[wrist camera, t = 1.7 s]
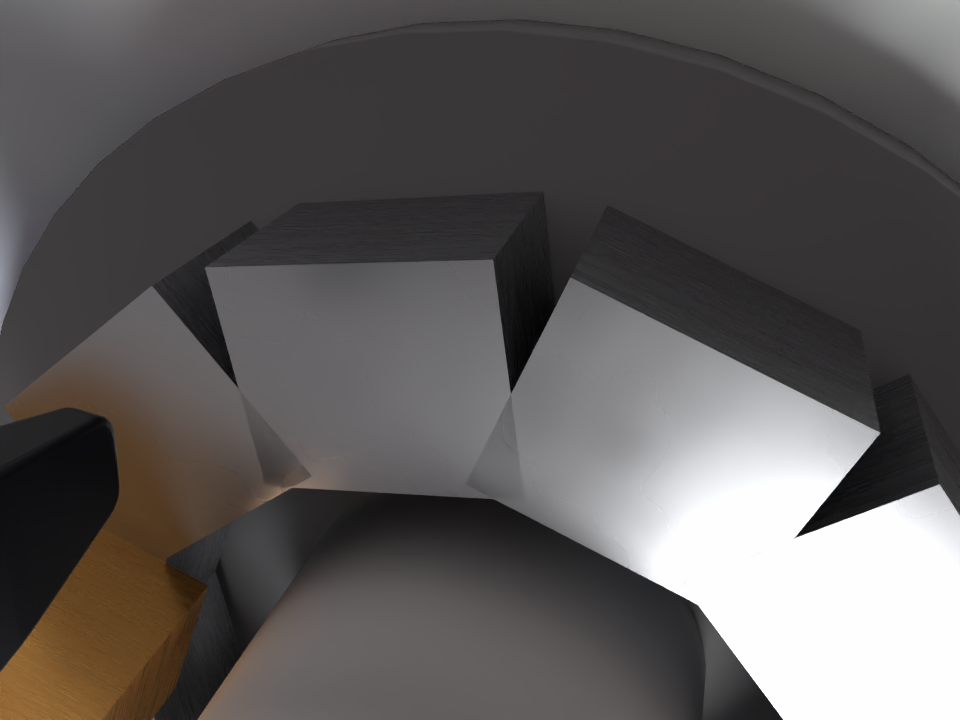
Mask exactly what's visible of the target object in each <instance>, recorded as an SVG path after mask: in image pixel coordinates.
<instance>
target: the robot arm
mask: <svg viewBox="0 0 960 720" xmlns="http://www.w3.org/2000/svg"><path fill="white" fill-rule="evenodd" d="M119 489H120V484H119V473H118V463H117V452H116V442H115V432H114V428H113V426H112V424H111V422H110V421H109V420H108V419H107V418H105V417H104V416H101V415H97V414H94V413H90V412H87V411H84V410H80V409H77V408H70V407H69V408H61V409H57V410H54V411H50V412H47V413H43V414H40V415H36V416H33V417H29V418H26V419H22V420H18V421H15V422H11V423H8V424H4V425H1V426H0V672H1V671H2V670H3V668H4V667H5V666H6V665H7V663H8V662H9V661H10V659H11V658H12V657H13V656H14V654H15V653H16V652H17V651H18V649H19V648H20V647H21V646H22V644H23V643H24V642H25V640H26V639H27V637H28V636H29V635H30V633H31V632H32V630H33V629H34V628H35V626H36V625H37V624H38V622H39V621H40V619H41V618H42V616H43V615H44V613H45V612H46V610H47V609H48V607H49V606H50V604H51V603H52V601H53V600H54V598H55V597H56V595H57V594H58V592H59V591H60V590H61V588H62V587H63V585H64V584H65V582H66V581H67V579H68V578H69V576H70V575H71V573H72V572H73V570H74V569H75V567H76V566H77V564H78V563H79V561H80V560H81V558H82V557H83V555H84V554H85V552H86V551H87V550H88V548H89V547H90V545H91V544H92V542H93V541H94V539H95V538H96V536H97V535H98V533H99V532H100V530H101V529H102V527H103V526H104V524H105V523H106V521H107V520H108V518H109V517H110V515H111V514H112V512H113V510H114V508H115V506H116V503H117V500H118V497H119Z"/></svg>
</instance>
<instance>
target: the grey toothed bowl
mask: <svg viewBox="0 0 960 720" xmlns="http://www.w3.org/2000/svg"><path fill="white" fill-rule="evenodd" d="M3 407H4V408H5V409H6V410H7V412H8V413H9V414H10V415H11V416H12V417H13V418H14V419H15V420H14V421H13V422H15V421H18V420H22V419H26V418H29V417H33V416H36V415H40V414H43V413H47V412H50V411H54V410H57V409H61V408H69V407H70V408H77V409H80V410H84V411H87V412H90V413H94V414H97V415H101V416H104V417H105V418H107V419H108V420H109V421H110V422H111V424H112V426H113V428H114V432H115V442H116V452H117V463H118V473H119V484H120V489H119V497H118V500H117V503H116V506H115V508H114V510H113V512H112V514H111V515H110V517H109V518H108V520H107V521H106V523H105V524H104V526H103V527H102V529H101V530H100V532H99V533H98V535H97V536H96V538H95V539H94V541H93V542H92V544H91V545H90V547H89V548H88V550H87V551H86V552H85V554H84V555H83V557H82V558H81V560H80V561H79V563H78V564H77V566H76V567H75V569H74V570H73V572H72V573H71V575H70V576H69V578H68V579H67V581H66V582H65V584H64V585H63V587H62V588H61V590H60V591H59V592H58V594H57V595H56V597H55V598H54V600H53V601H52V603H51V604H50V606H49V607H48V609H47V610H46V612H45V613H44V615H43V616H42V618H41V619H40V621H39V622H38V624H37V625H36V626H35V628H34V629H33V630H32V632H31V633H30V635H29V636H28V637H27V639H26V640H25V642H24V643H23V644H22V646H21V647H20V648H19V649H18V651H17V652H16V653H15V654H14V656H13V657H12V658H11V659H10V661H9V662H8V663H7V665H6V666H5V667H4V668H3V670H2V671H1V672H0V720H197V719H198V718H199V717H200V715H201V714H202V712H203V711H204V709H205V708H206V706H207V705H208V703H209V702H210V700H211V699H212V698H213V696H214V695H215V693H216V692H217V690H218V689H219V687H220V686H221V684H222V683H223V681H224V680H225V679H226V677H227V676H228V674H229V673H230V671H231V670H232V668H233V667H234V665H235V664H236V662H237V661H238V660H239V658H240V657H241V655H242V653H241V650H240V647H239V644H238V640H237V637H236V634H235V631H234V628H233V625H232V622H231V619H230V616H229V613H228V609H227V606H226V603H225V600H224V597H223V594H222V591H221V588H220V585H219V582H218V578H217V575H216V572H215V570H216V567H217V564H218V561H219V558H220V555H221V551H222V548H223V545H224V542H225V539H226V536H227V533H228V530H229V527H230V524H231V522H232V521H234V520H235V519H237V518H239V517H241V516H242V515H244V514H246V513H248V512H250V511H251V510H253V509H255V508H257V507H258V506H260V505H262V504H264V503H266V502H267V501H269V500H271V499H273V498H274V497H276V496H278V495H280V494H282V493H283V492H285V491H287V490H289V489H290V488H308V489H325V490H343V491H361V492H378V493H396V494H413V495H431V496H448V497H466V498H484V499H495V500H497V501H498V502H500V503H502V504H504V505H506V506H508V507H510V508H512V509H514V510H516V511H518V512H520V513H522V514H524V515H526V516H527V517H529V518H531V519H533V520H535V521H537V522H539V523H541V524H543V525H545V526H547V527H549V528H551V529H553V530H555V531H556V532H558V533H560V534H562V535H564V536H566V537H568V538H570V539H572V540H574V541H576V542H578V543H580V544H582V545H584V546H585V547H587V548H589V549H591V550H593V551H595V552H597V553H599V554H601V555H603V556H605V557H607V558H609V559H611V560H613V561H615V562H616V563H618V564H620V565H622V566H624V567H626V568H628V569H630V570H632V571H634V572H636V573H638V574H640V575H642V576H644V577H645V578H647V579H649V580H651V581H653V582H655V583H657V584H659V585H661V586H663V587H665V588H667V589H669V590H671V591H673V592H674V593H676V594H678V595H680V596H682V597H684V598H686V599H688V600H690V601H692V602H694V603H696V604H698V605H699V607H700V608H701V609H702V611H703V612H704V613H705V615H706V616H707V617H708V619H709V620H710V621H711V623H712V624H713V625H714V627H715V628H716V629H717V631H718V632H719V633H720V635H721V636H722V637H723V639H724V640H725V641H726V643H727V644H728V646H729V647H730V648H731V650H732V651H733V652H734V654H735V655H736V656H737V658H738V659H739V660H740V662H741V663H742V664H743V666H744V667H745V668H746V670H747V671H748V672H749V674H750V675H751V676H752V678H753V679H754V680H755V682H756V683H757V684H758V686H759V687H760V688H761V690H762V691H763V692H764V694H765V695H766V696H767V698H768V699H769V700H770V702H771V703H772V704H773V706H774V707H775V708H776V710H777V711H778V712H779V714H780V715H781V716H782V718H783V719H784V720H960V453H959V452H958V450H957V448H956V447H955V445H954V444H953V442H952V440H951V439H950V437H949V436H948V434H947V432H946V431H945V429H944V428H943V426H942V424H941V423H940V421H939V420H938V418H937V416H936V415H935V413H934V412H933V410H932V408H931V407H930V405H929V404H928V402H927V400H926V399H925V397H924V396H923V394H922V392H921V391H920V389H919V388H918V386H917V384H916V383H915V381H914V380H913V378H912V376H911V375H910V373H909V374H907V375H905V376H902V377H900V378H898V379H896V380H893V381H891V382H889V383H887V384H884V385H882V386H880V387H877V388H875V389H873V390H872V386H871V381H870V376H869V370H868V365H867V360H866V355H865V349H864V344H863V339H862V333H861V330H859V329H857V328H855V327H853V326H851V325H849V324H847V323H845V322H843V321H841V320H839V319H837V318H834V317H832V316H830V315H828V314H826V313H824V312H822V311H820V310H818V309H816V308H814V307H812V306H810V305H808V304H806V303H804V302H802V301H800V300H798V299H796V298H794V297H792V296H790V295H788V294H786V293H784V292H782V291H780V290H778V289H776V288H774V287H772V286H770V285H768V284H766V283H764V282H762V281H760V280H758V279H756V278H754V277H752V276H750V275H748V274H746V273H744V272H742V271H740V270H738V269H736V268H734V267H732V266H730V265H728V264H726V263H724V262H722V261H720V260H718V259H716V258H714V257H712V256H710V255H708V254H706V253H704V252H702V251H700V250H698V249H696V248H694V247H692V246H690V245H688V244H685V243H683V242H681V241H679V240H677V239H675V238H673V237H671V236H669V235H667V234H665V233H663V232H661V231H659V230H657V229H655V228H653V227H651V226H649V225H647V224H645V223H643V222H641V221H639V220H637V219H635V218H633V217H631V216H629V215H627V214H625V213H623V212H621V211H619V210H617V209H615V208H613V207H611V206H609V205H607V207H606V209H605V211H604V213H603V215H602V217H601V219H600V221H599V222H598V224H597V226H596V228H595V230H594V232H593V234H592V236H591V238H590V240H589V242H588V244H587V246H586V248H585V250H584V252H583V254H582V256H581V258H580V260H579V262H578V264H577V266H576V268H575V270H574V272H573V274H572V275H571V277H570V279H569V281H568V283H567V285H566V287H565V289H564V291H563V293H562V295H561V297H560V299H559V301H558V303H557V305H556V307H555V299H554V289H553V279H552V269H551V260H550V250H549V240H548V231H547V221H546V211H545V201H544V192H543V191H537V192H517V193H497V194H476V195H456V196H436V197H416V198H395V199H375V200H355V201H335V202H314V203H298V204H296V205H295V206H294V207H292V208H291V209H289V210H288V211H286V212H285V213H283V214H282V215H280V216H279V217H277V218H276V219H275V220H273V221H272V222H270V223H269V224H267V225H266V226H264V227H263V228H261V229H260V230H258V228H257V227H256V226H255V225H254V223H253V222H252V221H249V222H248V223H246V224H245V225H243V226H242V227H240V228H239V229H237V230H236V231H234V232H233V233H231V234H230V235H228V236H227V237H225V238H224V239H222V240H221V241H219V242H218V243H216V244H214V245H213V246H211V247H210V248H208V249H207V250H205V251H204V252H202V253H201V254H199V255H198V256H196V257H195V258H193V259H192V260H190V261H189V262H187V263H186V264H184V265H183V266H181V267H179V268H178V269H176V270H175V271H173V272H172V273H170V274H169V275H167V276H166V277H164V278H163V279H161V280H160V281H158V282H157V283H155V284H154V285H152V286H151V287H150V288H148V289H147V290H146V291H145V292H143V293H142V294H141V295H140V296H139V297H137V298H136V299H135V300H134V301H132V302H131V303H130V304H129V305H127V306H126V307H125V308H124V309H123V310H121V311H120V312H119V313H118V314H116V315H115V316H114V317H113V318H111V319H110V320H109V321H108V322H107V323H105V324H104V325H103V326H102V327H100V328H99V329H98V330H97V331H96V332H94V333H93V334H92V335H91V336H89V337H88V338H87V339H86V340H84V341H83V342H82V343H81V344H80V345H78V346H77V347H76V348H75V349H73V350H72V351H71V352H70V353H68V354H67V355H66V356H65V357H64V358H62V359H61V360H60V361H59V362H57V363H56V364H55V365H54V366H53V367H51V368H50V369H49V370H48V371H46V372H45V373H44V374H43V375H41V376H40V377H39V378H38V379H37V380H35V381H34V382H33V383H32V384H30V385H29V386H28V387H27V388H25V389H24V390H23V391H22V392H21V393H19V394H18V395H17V396H16V397H14V398H13V399H12V400H11V401H10V402H8V403H7V404H6V405H5V406H3Z"/></svg>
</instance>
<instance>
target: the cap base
mask: <svg viewBox="0 0 960 720" xmlns="http://www.w3.org/2000/svg"><path fill="white" fill-rule="evenodd" d="M537 191H543V192H544V201H545V211H546V221H547V231H548V240H549V250H550V260H551V269H552V279H553V289H554V299H555V307H556V305H557V303H558V301H559V299H560V297H561V295H562V293H563V291H564V289H565V287H566V285H567V283H568V281H569V279H570V277H571V275H572V274H573V272H574V270H575V268H576V266H577V264H578V262H579V260H580V258H581V256H582V254H583V252H584V250H585V248H586V246H587V244H588V242H589V240H590V238H591V236H592V234H593V232H594V230H595V228H596V226H597V224H598V222H599V221H600V219H601V217H602V215H603V213H604V211H605V209H606V207H607V205H609V206H611V207H613V208H615V209H617V210H619V211H621V212H623V213H625V214H627V215H629V216H631V217H633V218H635V219H637V220H639V221H641V222H643V223H645V224H647V225H649V226H651V227H653V228H655V229H657V230H659V231H661V232H663V233H665V234H667V235H669V236H671V237H673V238H675V239H677V240H679V241H681V242H683V243H685V244H688V245H690V246H692V247H694V248H696V249H698V250H700V251H702V252H704V253H706V254H708V255H710V256H712V257H714V258H716V259H718V260H720V261H722V262H724V263H726V264H728V265H730V266H732V267H734V268H736V269H738V270H740V271H742V272H744V273H746V274H748V275H750V276H752V277H754V278H756V279H758V280H760V281H762V282H764V283H766V284H768V285H770V286H772V287H774V288H776V289H778V290H780V291H782V292H784V293H786V294H788V295H790V296H792V297H794V298H796V299H798V300H800V301H802V302H804V303H806V304H808V305H810V306H812V307H814V308H816V309H818V310H820V311H822V312H824V313H826V314H828V315H830V316H832V317H834V318H837V319H839V320H841V321H843V322H845V323H847V324H849V325H851V326H853V327H855V328H857V329H859V330H861V333H862V339H863V344H864V349H865V355H866V360H867V365H868V370H869V376H870V381H871V386H872V390H873V389H875V388H877V387H880V386H882V385H884V384H887V383H889V382H891V381H893V380H896V379H898V378H900V377H902V376H905V375H907V374H909V373H910V375H911V376H912V378H913V380H914V381H915V383H916V384H917V386H918V388H919V389H920V391H921V392H922V394H923V396H924V397H925V399H926V400H927V402H928V404H929V405H930V407H931V408H932V410H933V412H934V413H935V415H936V416H937V418H938V420H939V421H940V423H941V424H942V426H943V428H944V429H945V431H946V432H947V434H948V436H949V437H950V439H951V440H952V442H953V444H954V445H955V447H956V448H957V450H958V452H959V453H960V185H959V184H957V183H956V182H955V181H954V180H952V179H951V178H950V177H949V176H947V175H946V174H945V173H943V172H942V171H941V170H940V169H938V168H937V167H936V166H935V165H933V164H932V163H931V162H929V161H928V160H927V159H926V158H924V157H923V156H922V155H920V154H919V153H918V152H917V151H915V150H914V149H913V148H911V147H909V146H908V145H906V144H904V143H902V142H901V141H899V140H897V139H896V138H894V137H892V136H890V135H889V134H887V133H885V132H883V131H882V130H880V129H878V128H876V127H875V126H873V125H871V124H869V123H868V122H866V121H864V120H862V119H861V118H859V117H857V116H855V115H854V114H852V113H850V112H848V111H847V110H845V109H843V108H842V107H840V106H838V105H836V104H835V103H833V102H831V101H829V100H828V99H826V98H824V97H822V96H821V95H818V94H816V93H813V92H811V91H808V90H806V89H803V88H801V87H798V86H796V85H793V84H791V83H788V82H786V81H783V80H781V79H778V78H776V77H773V76H771V75H768V74H766V73H764V72H761V71H759V70H756V69H754V68H751V67H749V66H746V65H744V64H741V63H739V62H736V61H734V60H731V59H729V58H726V57H724V56H721V55H717V54H713V53H709V52H705V51H701V50H697V49H693V48H689V47H685V46H681V45H677V44H673V43H669V42H665V41H661V40H657V39H653V38H649V37H645V36H641V35H637V34H633V33H629V32H625V31H621V30H613V29H604V28H595V27H585V26H576V25H566V24H557V23H547V22H538V21H528V20H493V21H466V22H440V23H422V24H416V25H411V26H406V27H400V28H395V29H390V30H384V31H379V32H374V33H368V34H363V35H358V36H352V37H347V38H342V39H337V40H334V41H331V42H328V43H325V44H322V45H320V46H317V47H314V48H311V49H308V50H305V51H303V52H300V53H297V54H294V55H291V56H289V57H286V58H283V59H280V60H277V61H274V62H272V63H269V64H266V65H263V66H260V67H258V68H255V69H252V70H249V71H247V72H244V73H241V74H239V75H236V76H233V77H231V78H228V79H225V80H223V81H221V82H219V83H217V84H216V85H214V86H212V87H210V88H208V89H207V90H205V91H203V92H201V93H199V94H198V95H196V96H194V97H192V98H190V99H189V100H187V101H185V102H183V103H181V104H180V105H178V106H176V107H174V108H172V109H170V110H169V111H167V112H165V113H163V114H161V115H160V116H158V117H156V118H154V119H153V120H152V121H151V122H149V123H148V124H147V125H146V126H145V127H143V128H142V129H141V130H140V131H138V132H137V133H136V134H135V135H133V136H132V137H131V138H130V139H128V140H127V141H126V142H125V143H123V144H122V145H121V146H120V147H119V148H117V149H116V150H115V151H114V152H112V153H111V154H110V155H109V156H107V157H106V158H105V159H104V160H102V161H101V162H100V163H99V164H98V165H97V166H96V167H95V168H94V170H93V171H92V172H91V173H90V174H89V175H88V177H87V178H86V179H85V180H84V181H83V182H82V183H81V185H80V186H79V187H78V188H77V189H76V190H75V192H74V193H73V194H72V195H71V196H70V197H69V199H68V200H67V201H66V202H65V203H64V204H63V205H62V207H61V208H60V209H59V210H58V211H57V212H56V214H55V215H54V217H53V218H52V220H51V222H50V224H49V225H48V227H47V229H46V230H45V232H44V234H43V235H42V237H41V239H40V241H39V242H38V244H37V246H36V247H35V249H34V251H33V252H32V254H31V256H30V257H29V259H28V261H27V263H26V264H25V266H24V268H23V270H22V273H21V276H20V278H19V281H18V284H17V286H16V289H15V292H14V294H13V297H12V300H11V303H10V305H9V308H8V311H7V313H6V316H5V319H4V321H3V325H2V330H1V335H0V426H1V425H4V424H8V423H11V422H13V421H14V420H15V419H14V418H13V417H12V416H11V415H10V414H9V413H8V412H7V410H6V409H5V408H4V407H3V406H5V405H6V404H7V403H8V402H10V401H11V400H12V399H13V398H14V397H16V396H17V395H18V394H19V393H21V392H22V391H23V390H24V389H25V388H27V387H28V386H29V385H30V384H32V383H33V382H34V381H35V380H37V379H38V378H39V377H40V376H41V375H43V374H44V373H45V372H46V371H48V370H49V369H50V368H51V367H53V366H54V365H55V364H56V363H57V362H59V361H60V360H61V359H62V358H64V357H65V356H66V355H67V354H68V353H70V352H71V351H72V350H73V349H75V348H76V347H77V346H78V345H80V344H81V343H82V342H83V341H84V340H86V339H87V338H88V337H89V336H91V335H92V334H93V333H94V332H96V331H97V330H98V329H99V328H100V327H102V326H103V325H104V324H105V323H107V322H108V321H109V320H110V319H111V318H113V317H114V316H115V315H116V314H118V313H119V312H120V311H121V310H123V309H124V308H125V307H126V306H127V305H129V304H130V303H131V302H132V301H134V300H135V299H136V298H137V297H139V296H140V295H141V294H142V293H143V292H145V291H146V290H147V289H148V288H150V287H151V286H152V285H154V284H155V283H157V282H158V281H160V280H161V279H163V278H164V277H166V276H167V275H169V274H170V273H172V272H173V271H175V270H176V269H178V268H179V267H181V266H183V265H184V264H186V263H187V262H189V261H190V260H192V259H193V258H195V257H196V256H198V255H199V254H201V253H202V252H204V251H205V250H207V249H208V248H210V247H211V246H213V245H214V244H216V243H218V242H219V241H221V240H222V239H224V238H225V237H227V236H228V235H230V234H231V233H233V232H234V231H236V230H237V229H239V228H240V227H242V226H243V225H245V224H246V223H248V222H249V221H252V222H253V223H254V225H255V226H256V227H257V228H258V230H260V229H261V228H263V227H264V226H266V225H267V224H269V223H270V222H272V221H273V220H275V219H276V218H277V217H279V216H280V215H282V214H283V213H285V212H286V211H288V210H289V209H291V208H292V207H294V206H295V205H296V204H298V203H314V202H335V201H355V200H375V199H395V198H416V197H436V196H456V195H476V194H497V193H517V192H537ZM215 572H216V575H217V578H218V582H219V585H220V588H221V591H222V594H223V597H224V600H225V603H226V606H227V609H228V613H229V616H230V619H231V622H232V625H233V628H234V631H235V634H236V637H237V640H238V644H239V647H240V650H241V653H242V655H241V657H240V658H239V660H238V661H237V662H236V664H235V665H234V667H233V668H232V670H231V671H230V673H229V674H228V676H227V677H226V679H225V680H224V681H223V683H222V684H221V686H220V687H219V689H218V690H217V692H216V693H215V695H214V696H213V698H212V699H211V700H210V702H209V703H208V705H207V706H206V708H205V709H204V711H203V712H202V714H201V715H200V717H199V718H198V719H197V720H784V719H783V718H782V716H781V715H780V714H779V712H778V711H777V710H776V708H775V707H774V706H773V704H772V703H771V702H770V700H769V699H768V698H767V696H766V695H765V694H764V692H763V691H762V690H761V688H760V687H759V686H758V684H757V683H756V682H755V680H754V679H753V678H752V676H751V675H750V674H749V672H748V671H747V670H746V668H745V667H744V666H743V664H742V663H741V662H740V660H739V659H738V658H737V656H736V655H735V654H734V652H733V651H732V650H731V648H730V647H729V646H728V644H727V643H726V641H725V640H724V639H723V637H722V636H721V635H720V633H719V632H718V631H717V629H716V628H715V627H714V625H713V624H712V623H711V621H710V620H709V619H708V617H707V616H706V615H705V613H704V612H703V611H702V609H701V608H700V607H699V605H698V604H696V603H694V602H692V601H690V600H688V599H686V598H684V597H682V596H680V595H678V594H676V593H674V592H673V591H671V590H669V589H667V588H665V587H663V586H661V585H659V584H657V583H655V582H653V581H651V580H649V579H647V578H645V577H644V576H642V575H640V574H638V573H636V572H634V571H632V570H630V569H628V568H626V567H624V566H622V565H620V564H618V563H616V562H615V561H613V560H611V559H609V558H607V557H605V556H603V555H601V554H599V553H597V552H595V551H593V550H591V549H589V548H587V547H585V546H584V545H582V544H580V543H578V542H576V541H574V540H572V539H570V538H568V537H566V536H564V535H562V534H560V533H558V532H556V531H555V530H553V529H551V528H549V527H547V526H545V525H543V524H541V523H539V522H537V521H535V520H533V519H531V518H529V517H527V516H526V515H524V514H522V513H520V512H518V511H516V510H514V509H512V508H510V507H508V506H506V505H504V504H502V503H500V502H498V501H497V500H495V499H484V498H466V497H448V496H431V495H413V494H396V493H378V492H361V491H343V490H325V489H308V488H290V489H289V490H287V491H285V492H283V493H282V494H280V495H278V496H276V497H274V498H273V499H271V500H269V501H267V502H266V503H264V504H262V505H260V506H258V507H257V508H255V509H253V510H251V511H250V512H248V513H246V514H244V515H242V516H241V517H239V518H237V519H235V520H234V521H232V522H231V524H230V527H229V530H228V533H227V536H226V539H225V542H224V545H223V548H222V551H221V555H220V558H219V561H218V564H217V567H216V570H215Z"/></svg>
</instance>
